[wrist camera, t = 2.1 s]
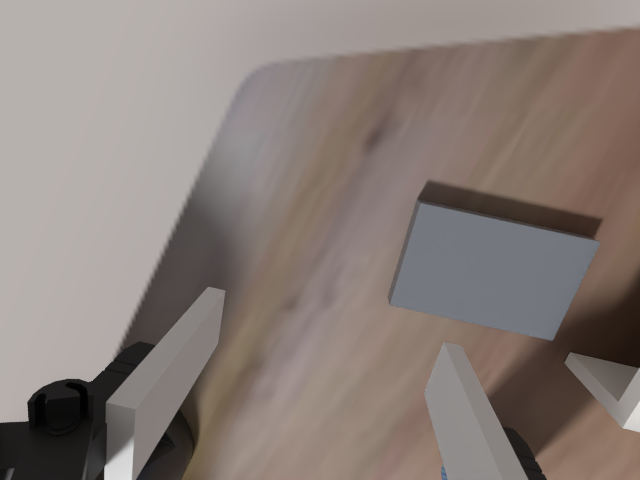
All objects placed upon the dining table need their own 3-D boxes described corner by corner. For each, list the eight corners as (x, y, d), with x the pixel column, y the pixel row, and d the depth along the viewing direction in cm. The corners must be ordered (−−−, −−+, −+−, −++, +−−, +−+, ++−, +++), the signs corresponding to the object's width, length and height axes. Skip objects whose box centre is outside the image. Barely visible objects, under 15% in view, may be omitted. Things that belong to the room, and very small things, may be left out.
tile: (387, 294, 32) (389, 305, 30) (415, 197, 29) (420, 202, 27) (540, 327, 32) (552, 340, 30) (584, 234, 29) (600, 242, 27)
